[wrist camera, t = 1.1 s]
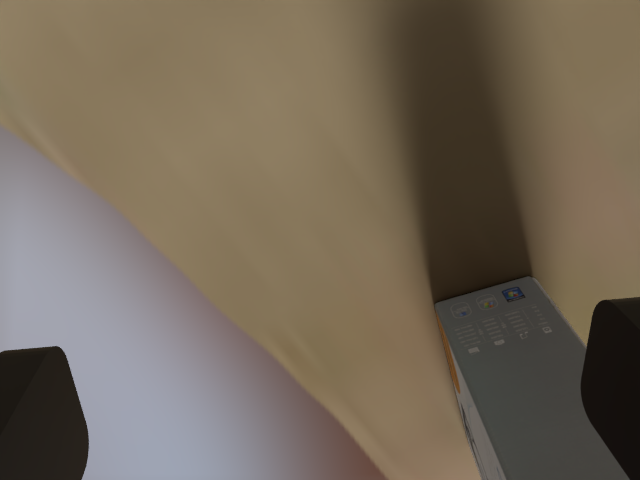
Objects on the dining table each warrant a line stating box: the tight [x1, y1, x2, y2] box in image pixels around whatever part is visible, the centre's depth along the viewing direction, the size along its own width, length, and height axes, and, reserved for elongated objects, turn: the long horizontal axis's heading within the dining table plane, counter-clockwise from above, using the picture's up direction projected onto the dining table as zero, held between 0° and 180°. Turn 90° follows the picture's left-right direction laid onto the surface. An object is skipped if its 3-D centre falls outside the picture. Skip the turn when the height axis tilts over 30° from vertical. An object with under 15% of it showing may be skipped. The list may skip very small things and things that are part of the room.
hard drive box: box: [435, 276, 630, 480], centre depth 37 cm, size 16×8×20 cm, turn 16°
